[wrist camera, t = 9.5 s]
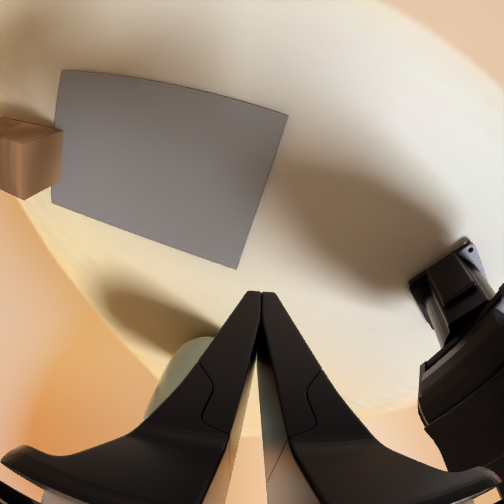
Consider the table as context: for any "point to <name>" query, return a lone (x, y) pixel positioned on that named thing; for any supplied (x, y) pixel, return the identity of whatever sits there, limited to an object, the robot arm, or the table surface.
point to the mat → (164, 160)
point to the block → (28, 157)
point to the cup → (177, 370)
